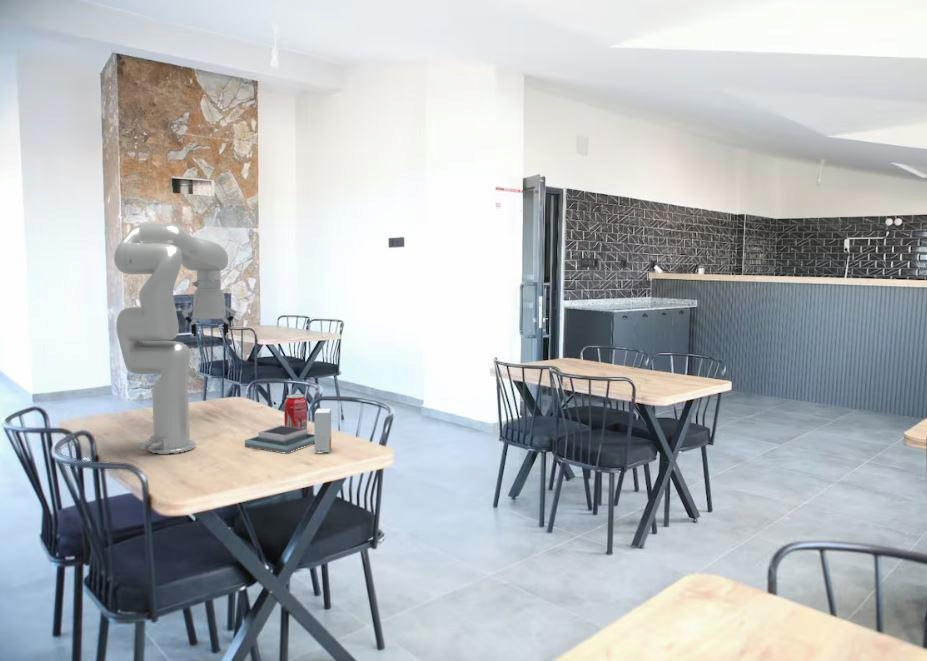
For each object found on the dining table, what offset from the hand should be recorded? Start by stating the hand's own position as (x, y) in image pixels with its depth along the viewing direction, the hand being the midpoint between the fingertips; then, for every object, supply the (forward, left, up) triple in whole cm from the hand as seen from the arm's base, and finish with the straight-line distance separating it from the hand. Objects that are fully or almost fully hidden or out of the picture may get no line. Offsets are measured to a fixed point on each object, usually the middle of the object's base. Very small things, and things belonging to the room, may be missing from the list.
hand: (210, 335), depth 230 cm
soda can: (0, -36, -30) cm, 47 cm away
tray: (-13, -42, -29) cm, 53 cm away
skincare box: (-13, -57, -30) cm, 66 cm away
